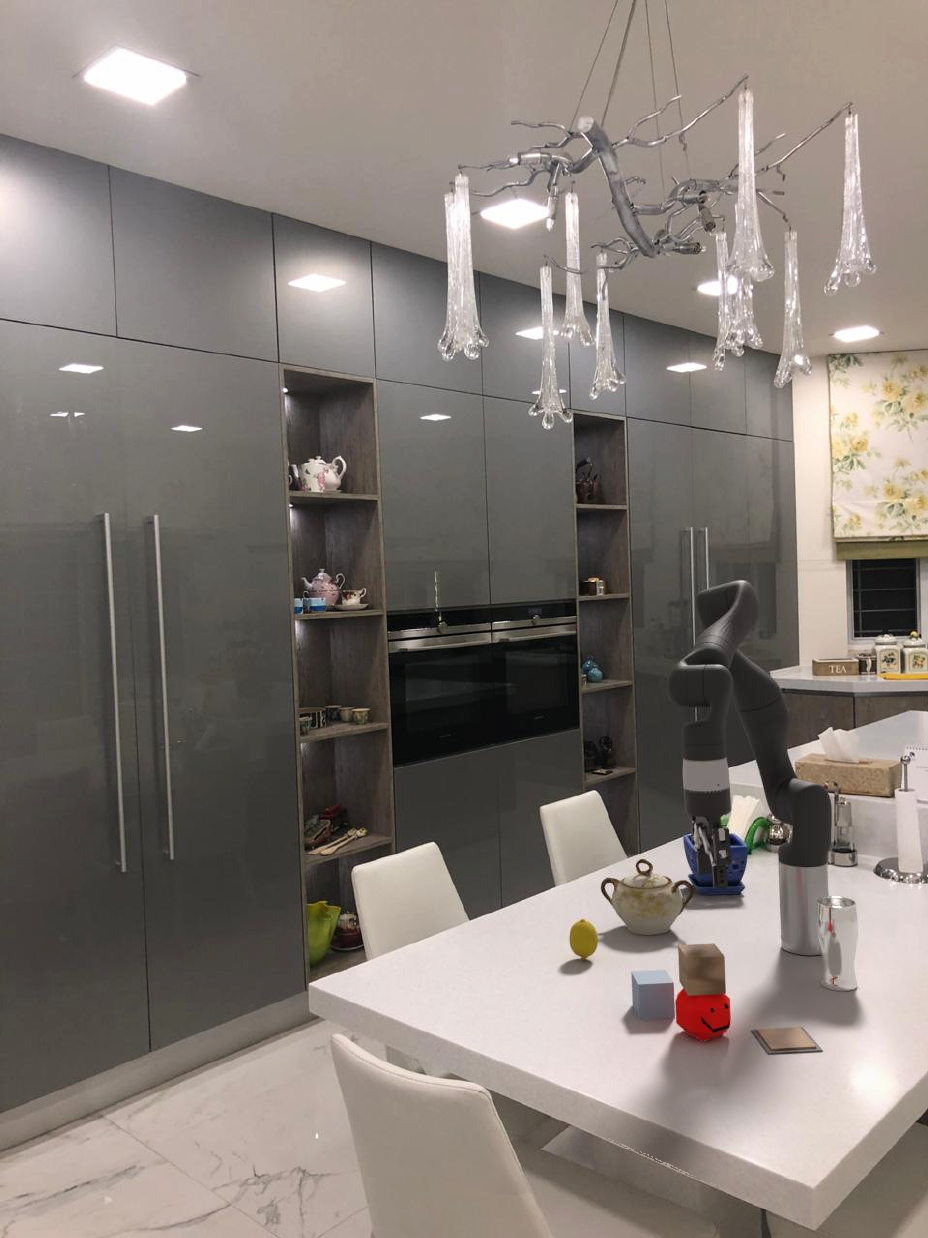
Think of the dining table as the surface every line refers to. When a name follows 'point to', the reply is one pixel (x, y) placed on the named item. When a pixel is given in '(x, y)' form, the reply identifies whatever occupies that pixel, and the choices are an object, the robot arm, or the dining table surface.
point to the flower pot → (706, 881)
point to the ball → (703, 1014)
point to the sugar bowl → (647, 900)
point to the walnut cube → (701, 969)
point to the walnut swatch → (786, 1040)
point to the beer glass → (837, 941)
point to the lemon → (583, 939)
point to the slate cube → (653, 994)
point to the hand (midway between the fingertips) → (712, 881)
